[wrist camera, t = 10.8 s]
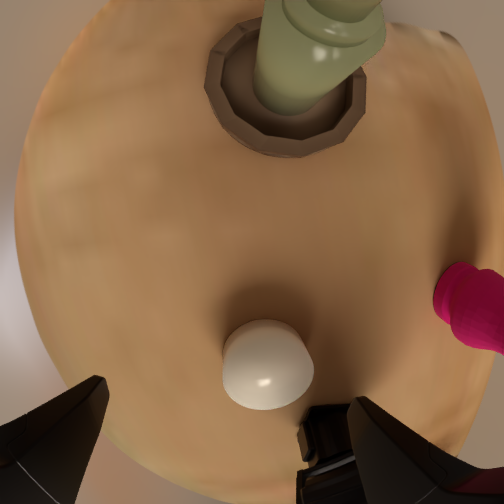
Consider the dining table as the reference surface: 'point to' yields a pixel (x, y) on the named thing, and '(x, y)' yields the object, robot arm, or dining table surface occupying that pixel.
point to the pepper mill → (472, 305)
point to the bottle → (312, 49)
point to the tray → (263, 120)
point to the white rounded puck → (266, 365)
